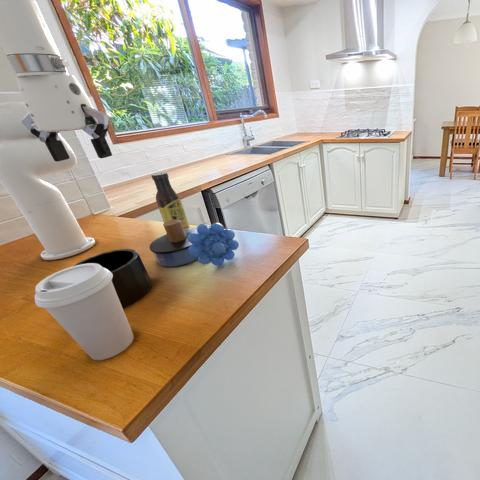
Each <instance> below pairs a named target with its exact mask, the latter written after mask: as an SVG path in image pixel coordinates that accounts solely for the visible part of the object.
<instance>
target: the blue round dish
mask: <svg viewBox="0 0 480 480" xmlns="http://www.w3.org/2000/svg"><path fill="white" fill-rule="evenodd" d="M188 249H189V248H188ZM188 249H185V250H182V251H179V252H174V253H168V254H157V253H153V255H154V258H155V260H156V262H157V263H158V264H159V265H160V266H164V267H174V268H175V267H181V266H185V265H189V264H191V263H193V262H195V261H198V256H193V255H191V254H190V253H189V250H188Z"/></svg>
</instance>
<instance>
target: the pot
mask: <svg viewBox="0 0 480 480" xmlns="http://www.w3.org/2000/svg"><path fill="white" fill-rule="evenodd" d="M87 263H96V264H99V265H101V266H102V267H103V268H106V269H107V270H109V271H110V272H111V273H112V274H113V278H112V280H111V281H112V283H113V286H114V288H115V291H116V293H117V296H118V298H119V301H120V303H121V306H122V308H123V309H125V308H127V307H130V306H131V305H134V304H135V303H138V302H139V301H140V300H142V299H143V298H144V297H146V295H148V294H149V292H150V291H151V290H152V288H153V282H152V279H151V277H150V275H149V273H148V271H147V269H146V267H145V264H144V262H143V260H142V258H141V255H140V254H139V252H138V251H137V250H136V249H131V248H119V249H114V250H109V251H105V252H101V253H98V254H96V255H95V254H94V255H92V256H89V257H88V258H85V259H84V260H81V261H79V262H77V263H75V264H74V265H73V266H76V265H80V264H87Z"/></svg>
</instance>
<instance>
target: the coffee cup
mask: <svg viewBox="0 0 480 480" xmlns="http://www.w3.org/2000/svg"><path fill="white" fill-rule="evenodd" d="M75 265H76V264H75ZM112 278H113V274H112V273H111V272H110V271H109V270H107V269H106V268H103V267H102V266H101V265H99V264H96V263H87V264H80V265H76V266H74V265H72V266H69V267H65V268H63V269H61V270H59V271H56V272H54V273H52V274H50V275H48V276H46V277H44V278H43V279H42V280H41V281H39V282H38V283H37V284H36V286H35V288H34V291H35V294H34V303H35V305H36V306H37V307H38V308H44V309H45V310H46V311H47V313H49V315H51V316H52V317H53V319H54V320H55V321H56V322H57V323H58V324H59V325H60V326H61V327H62V328H63V329H64V330H65V331H66V333H67V334H68V335H69V336H70V337H71V338H72V339H73V340H74V342H76V344H78V346H80V348H81V349H82V350H83V351H84V352H85V353H86V354H87V356H88V357H90V358H91V360H94V361H104V360H107V359H110V358H113V357H115V356H117V355H119V354H120V353H122V352H124V351H125V350H126V349H127V348H128V347H130V346H131V344H132V343H133V342H134V339H135V335H134V333H133V329H132V328H131V325H130V323H129V320H128V317H127V315H126V313H125V310H124V308H122V306H121V303H120V301H119V298H118V296H117V293H116V291H115V288H114V286H113V283H112V281H111V280H112Z"/></svg>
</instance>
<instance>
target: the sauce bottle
mask: <svg viewBox="0 0 480 480" xmlns="http://www.w3.org/2000/svg"><path fill="white" fill-rule="evenodd" d="M150 176H151V178H152V180H153V181H154V185H155V188H156V194H155V201H156V204H157V207H158V210H159V213H160V216H161V218H162V221H163V224H164V223H165V222H167V221H170V220H175V219H178V220H180V221H181V224H182V227H183V229H191V228H190V224H189V222H188V218H187V214H186V212H185V210H184V206H183V204H182V200H181V198H180V196H179V195H178V194H177V192H176V191H175V190H174V188H173V187H172V185H171V182H170V178H169V175H168V172H166V171H164V172H163V171H161V172H156V173H153V174H151V175H150Z"/></svg>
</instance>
